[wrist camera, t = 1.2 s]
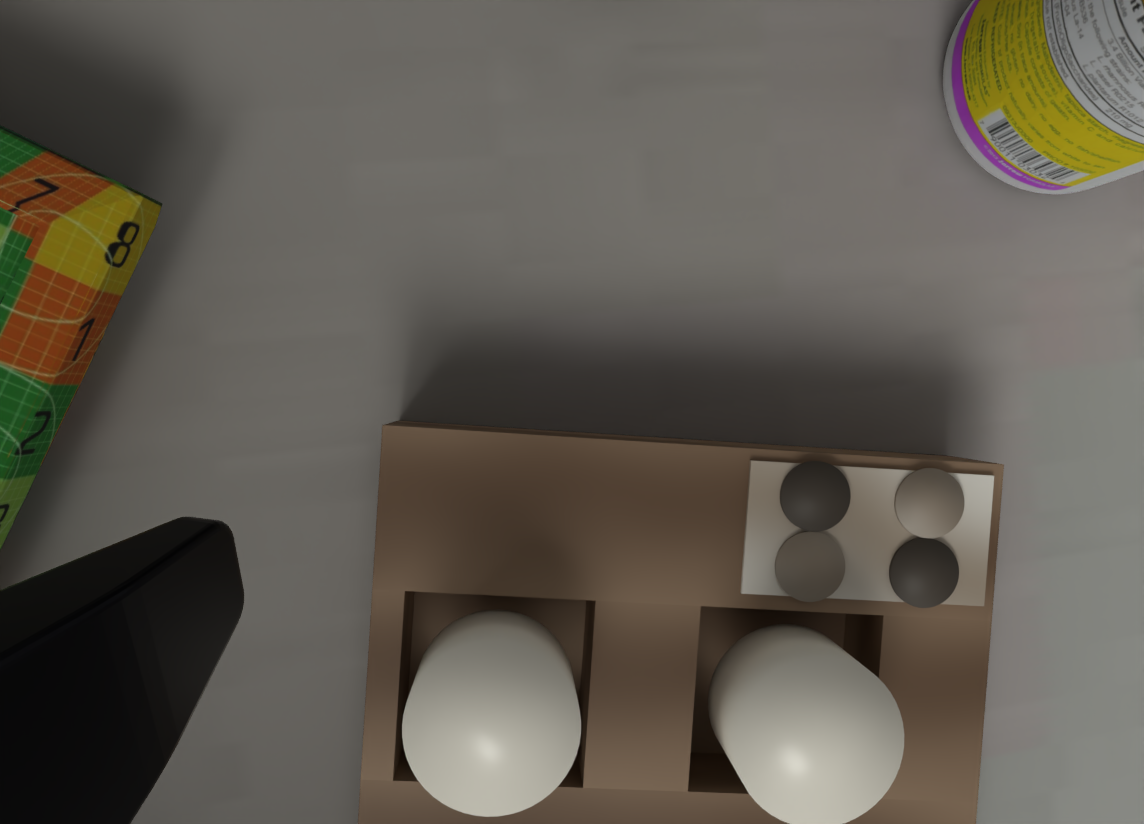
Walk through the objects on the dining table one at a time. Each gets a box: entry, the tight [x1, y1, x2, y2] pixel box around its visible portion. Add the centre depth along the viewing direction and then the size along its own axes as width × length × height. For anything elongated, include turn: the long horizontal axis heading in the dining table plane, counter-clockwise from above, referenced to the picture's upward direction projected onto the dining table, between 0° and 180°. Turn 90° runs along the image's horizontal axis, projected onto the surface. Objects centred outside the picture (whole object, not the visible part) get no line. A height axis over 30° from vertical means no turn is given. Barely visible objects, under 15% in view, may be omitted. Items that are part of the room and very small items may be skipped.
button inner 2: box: [402, 610, 581, 817], centre depth 21 cm, size 4×4×3 cm
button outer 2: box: [708, 624, 904, 824], centre depth 22 cm, size 4×4×3 cm
